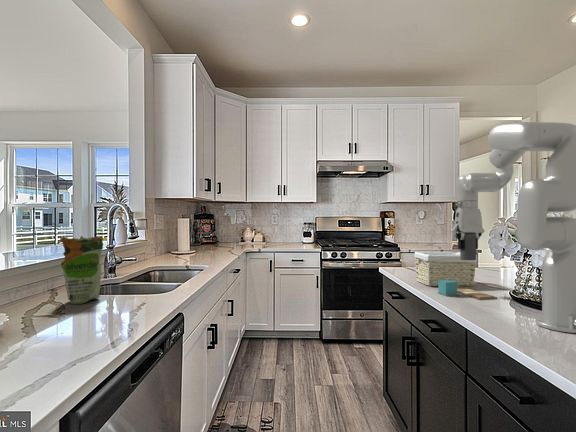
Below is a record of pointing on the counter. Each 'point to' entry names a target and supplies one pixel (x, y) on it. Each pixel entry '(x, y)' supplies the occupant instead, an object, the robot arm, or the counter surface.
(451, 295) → the mat
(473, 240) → the bottle
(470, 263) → the storage basket
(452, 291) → the cube
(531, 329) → the counter surface
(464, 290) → the board
